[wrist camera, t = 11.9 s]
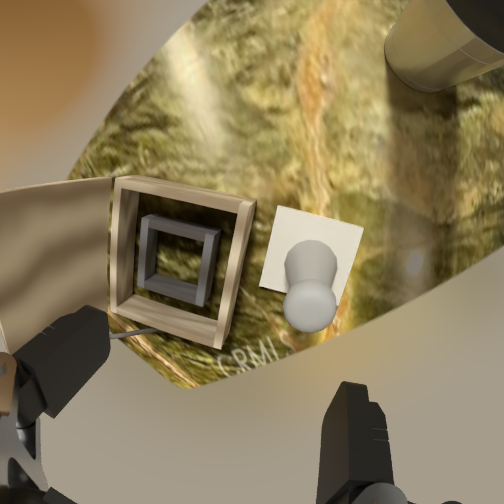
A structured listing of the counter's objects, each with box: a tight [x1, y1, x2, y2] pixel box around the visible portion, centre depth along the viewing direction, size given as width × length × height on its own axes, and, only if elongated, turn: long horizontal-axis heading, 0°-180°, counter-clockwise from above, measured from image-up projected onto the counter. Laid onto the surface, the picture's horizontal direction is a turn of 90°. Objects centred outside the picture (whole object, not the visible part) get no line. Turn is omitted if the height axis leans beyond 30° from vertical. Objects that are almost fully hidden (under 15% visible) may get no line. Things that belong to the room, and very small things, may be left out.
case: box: [109, 175, 257, 350], centre depth 32 cm, size 19×18×14 cm
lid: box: [0, 177, 112, 355], centre depth 28 cm, size 18×17×1 cm
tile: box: [259, 205, 364, 306], centre depth 35 cm, size 10×10×1 cm
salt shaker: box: [283, 240, 338, 333], centre depth 29 cm, size 6×6×13 cm
